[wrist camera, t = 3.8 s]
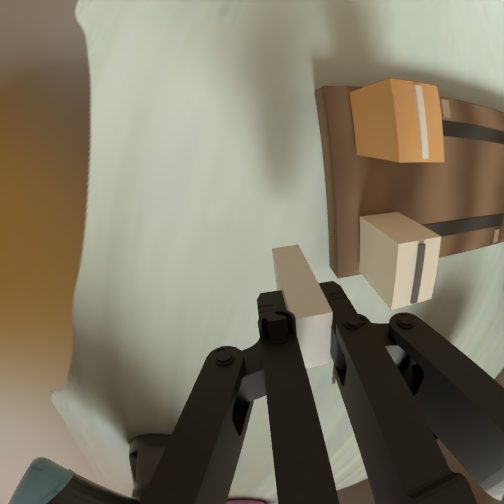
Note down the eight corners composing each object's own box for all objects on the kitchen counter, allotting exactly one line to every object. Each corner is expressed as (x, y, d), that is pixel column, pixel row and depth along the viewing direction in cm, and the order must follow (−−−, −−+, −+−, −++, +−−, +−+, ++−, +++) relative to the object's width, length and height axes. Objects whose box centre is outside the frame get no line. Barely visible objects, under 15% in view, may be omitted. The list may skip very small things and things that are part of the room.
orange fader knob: (356, 155, 15) (401, 163, 10) (349, 92, 14) (391, 77, 9) (396, 153, 15) (446, 162, 10) (390, 95, 14) (439, 85, 9)
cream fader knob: (359, 271, 18) (392, 312, 13) (359, 216, 17) (400, 245, 12) (394, 264, 18) (432, 300, 13) (397, 211, 17) (443, 237, 12)
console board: (329, 266, 21) (338, 279, 19) (314, 91, 16) (323, 85, 14) (508, 231, 20) (520, 237, 19) (511, 119, 15) (525, 120, 14)
